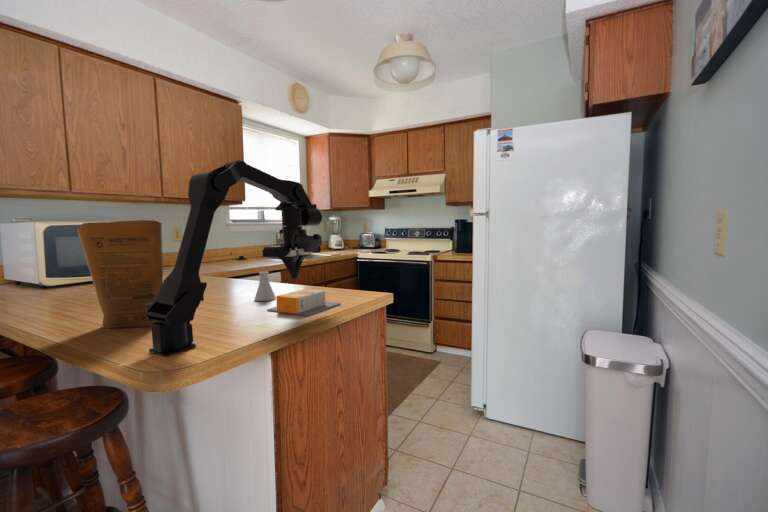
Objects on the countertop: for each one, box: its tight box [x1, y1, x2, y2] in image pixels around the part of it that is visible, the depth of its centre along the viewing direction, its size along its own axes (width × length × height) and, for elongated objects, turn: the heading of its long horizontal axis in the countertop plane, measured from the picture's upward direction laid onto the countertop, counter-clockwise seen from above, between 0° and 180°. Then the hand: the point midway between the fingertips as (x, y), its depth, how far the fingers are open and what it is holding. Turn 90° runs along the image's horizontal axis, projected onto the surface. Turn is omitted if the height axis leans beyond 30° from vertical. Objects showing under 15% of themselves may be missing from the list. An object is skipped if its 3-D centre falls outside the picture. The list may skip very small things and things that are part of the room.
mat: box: [266, 300, 342, 317], centre depth 109 cm, size 16×16×1 cm
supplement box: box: [275, 288, 326, 314], centre depth 106 cm, size 8×5×13 cm
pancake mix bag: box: [77, 219, 164, 330], centre depth 91 cm, size 7×19×28 cm, turn 95°
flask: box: [254, 271, 277, 302], centre depth 122 cm, size 7×7×10 cm
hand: (294, 278), depth 103 cm, fingers closed
